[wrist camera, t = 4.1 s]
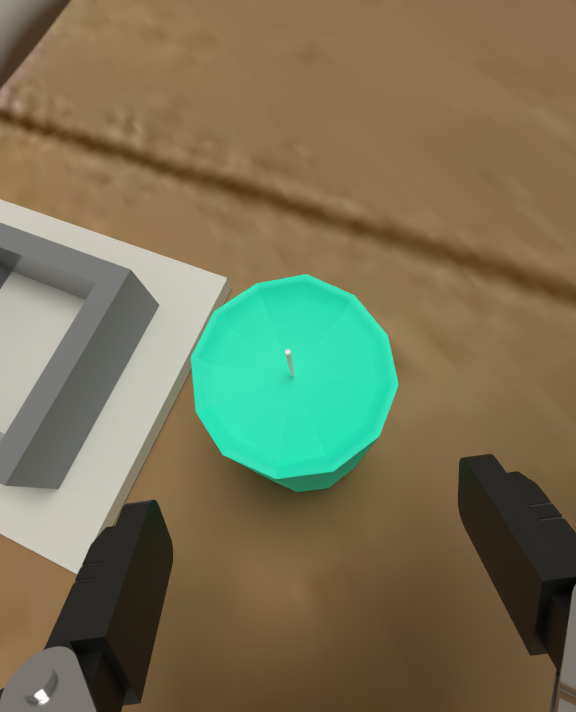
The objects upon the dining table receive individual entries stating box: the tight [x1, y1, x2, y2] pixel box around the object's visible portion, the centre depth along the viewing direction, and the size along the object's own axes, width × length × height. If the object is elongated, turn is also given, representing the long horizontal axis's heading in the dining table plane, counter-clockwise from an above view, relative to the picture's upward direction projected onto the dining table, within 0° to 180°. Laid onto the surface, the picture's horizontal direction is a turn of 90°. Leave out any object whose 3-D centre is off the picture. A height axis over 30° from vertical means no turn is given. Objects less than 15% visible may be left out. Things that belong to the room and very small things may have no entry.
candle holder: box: [0, 199, 232, 574], centre depth 22 cm, size 16×16×5 cm
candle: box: [191, 274, 398, 492], centre depth 17 cm, size 6×6×12 cm
